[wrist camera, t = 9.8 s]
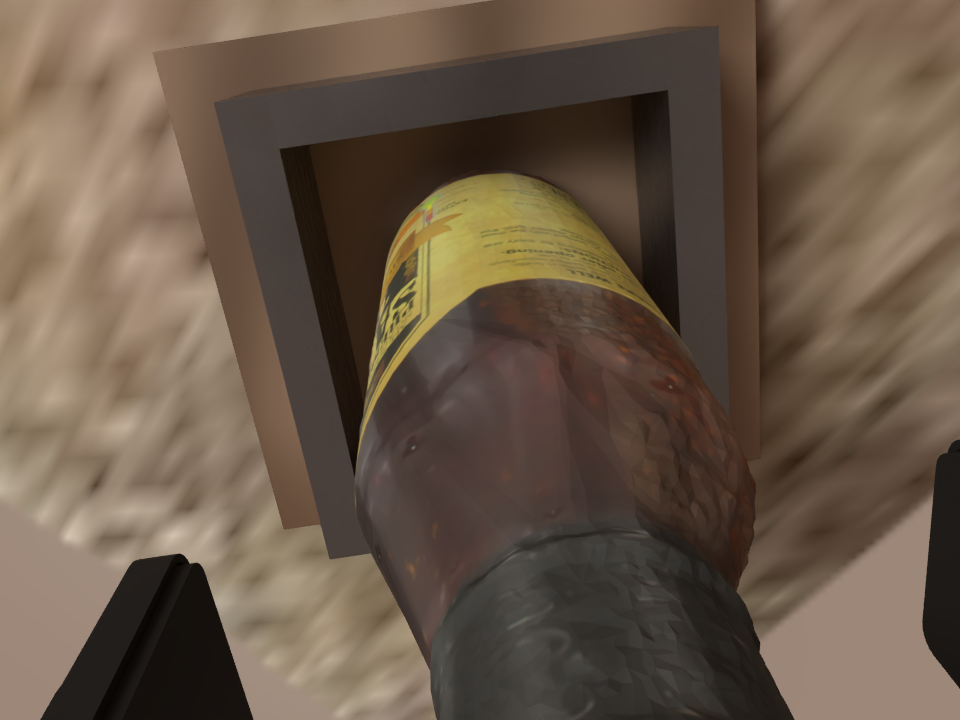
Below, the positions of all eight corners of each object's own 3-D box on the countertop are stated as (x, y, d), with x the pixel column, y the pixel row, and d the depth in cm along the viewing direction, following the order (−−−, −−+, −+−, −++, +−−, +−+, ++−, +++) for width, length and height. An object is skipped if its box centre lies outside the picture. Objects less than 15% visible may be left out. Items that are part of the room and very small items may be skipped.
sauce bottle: (369, 179, 23) (100, 771, 5) (589, 145, 23) (1213, 605, 5) (409, 389, 25) (341, 1326, 7) (608, 359, 25) (1063, 1221, 7)
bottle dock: (735, -36, 23) (821, -55, 18) (744, 437, 28) (812, 526, 23) (169, 50, 23) (93, 56, 18) (291, 505, 28) (259, 608, 23)
